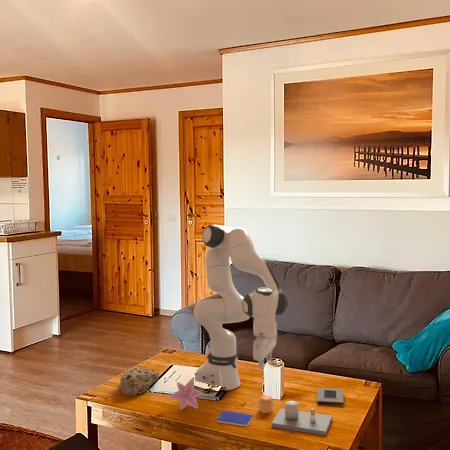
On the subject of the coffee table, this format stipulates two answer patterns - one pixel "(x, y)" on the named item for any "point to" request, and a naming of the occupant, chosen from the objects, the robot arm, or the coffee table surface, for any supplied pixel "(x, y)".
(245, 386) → the coffee table surface
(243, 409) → the coffee table surface
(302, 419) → the plate
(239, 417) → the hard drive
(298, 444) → the coffee table surface
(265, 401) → the orange rounded cylinder
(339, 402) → the electrical outlet
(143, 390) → the rock
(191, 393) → the lily
